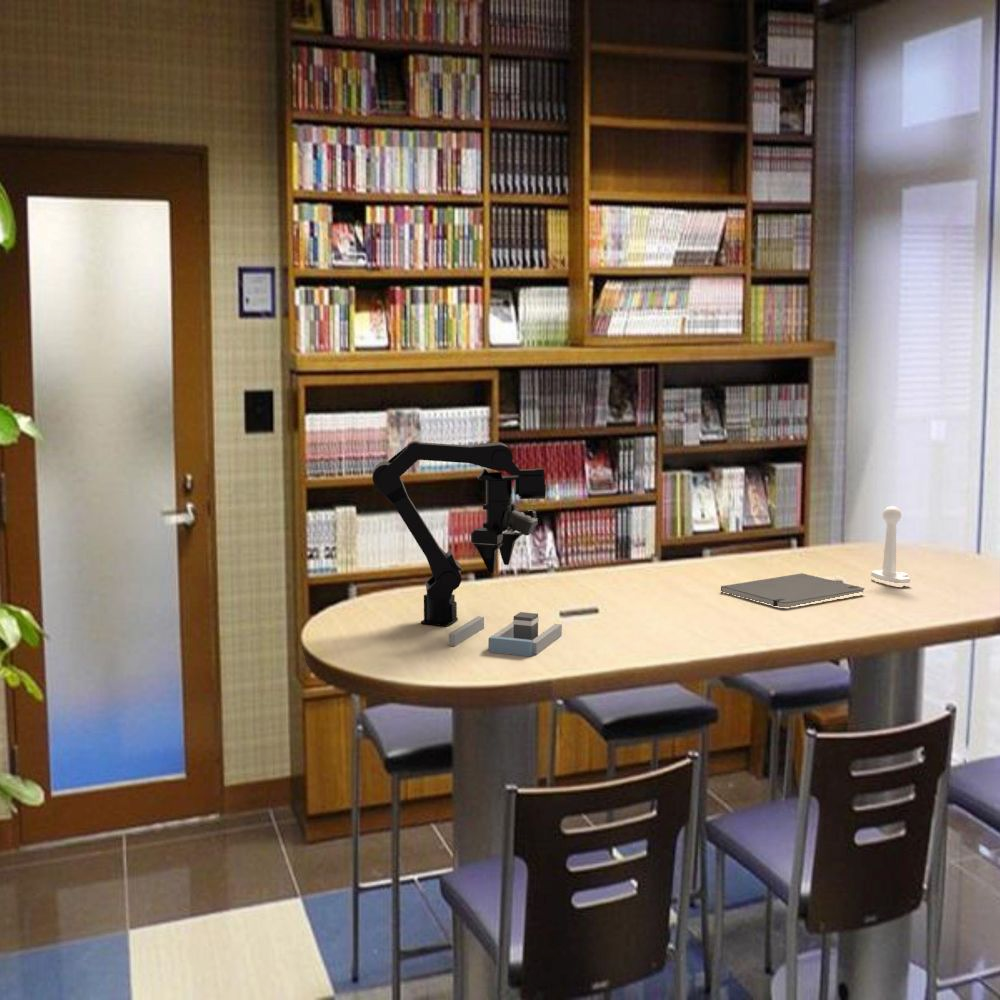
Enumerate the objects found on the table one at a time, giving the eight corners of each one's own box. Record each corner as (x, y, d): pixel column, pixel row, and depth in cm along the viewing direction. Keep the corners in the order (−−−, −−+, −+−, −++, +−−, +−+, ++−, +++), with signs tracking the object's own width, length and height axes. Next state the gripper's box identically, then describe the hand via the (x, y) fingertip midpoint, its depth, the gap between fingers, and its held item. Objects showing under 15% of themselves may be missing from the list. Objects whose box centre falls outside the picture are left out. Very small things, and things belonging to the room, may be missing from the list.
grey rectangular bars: (445, 647, 253) (445, 633, 252) (477, 627, 269) (477, 614, 268) (533, 656, 246) (534, 642, 245) (561, 635, 262) (561, 622, 261)
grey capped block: (513, 644, 255) (513, 616, 254) (520, 639, 259) (520, 611, 258) (531, 646, 254) (531, 618, 253) (538, 641, 258) (538, 613, 257)
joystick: (867, 579, 316) (870, 503, 313) (890, 577, 319) (893, 501, 316) (896, 588, 306) (900, 510, 303) (920, 585, 309) (924, 508, 306)
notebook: (801, 581, 317) (720, 594, 302) (802, 572, 317) (720, 585, 302) (866, 597, 299) (783, 612, 284) (867, 588, 299) (784, 602, 284)
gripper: (518, 507, 259) (518, 579, 261) (547, 495, 276) (546, 563, 278) (469, 505, 263) (470, 575, 265) (501, 493, 280) (501, 559, 282)
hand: (499, 568), depth 273 cm, fingers open, 9 cm apart
